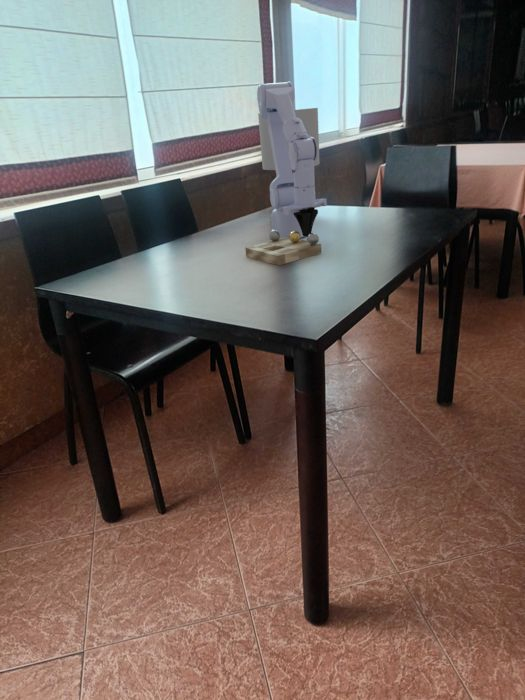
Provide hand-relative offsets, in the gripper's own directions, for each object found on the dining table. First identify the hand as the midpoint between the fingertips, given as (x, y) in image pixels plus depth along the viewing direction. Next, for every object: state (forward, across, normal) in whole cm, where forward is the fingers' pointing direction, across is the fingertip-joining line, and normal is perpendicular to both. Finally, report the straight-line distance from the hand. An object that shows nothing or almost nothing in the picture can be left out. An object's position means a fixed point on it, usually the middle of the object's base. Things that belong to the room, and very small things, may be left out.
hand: (306, 235), depth 141 cm
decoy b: (-1, -4, -6) cm, 7 cm away
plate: (+3, -9, 0) cm, 10 cm away
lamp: (+4, +27, +38) cm, 46 cm away
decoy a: (-1, -6, +6) cm, 9 cm away
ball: (-1, -4, 0) cm, 5 cm away
